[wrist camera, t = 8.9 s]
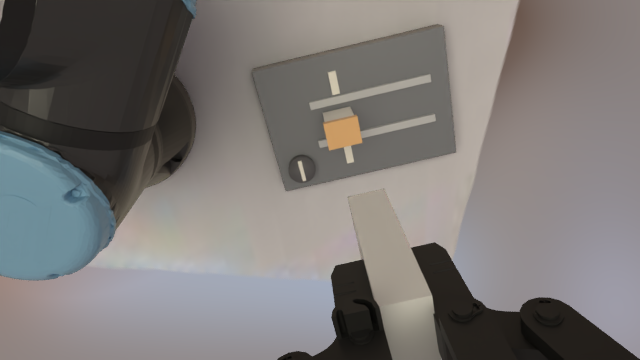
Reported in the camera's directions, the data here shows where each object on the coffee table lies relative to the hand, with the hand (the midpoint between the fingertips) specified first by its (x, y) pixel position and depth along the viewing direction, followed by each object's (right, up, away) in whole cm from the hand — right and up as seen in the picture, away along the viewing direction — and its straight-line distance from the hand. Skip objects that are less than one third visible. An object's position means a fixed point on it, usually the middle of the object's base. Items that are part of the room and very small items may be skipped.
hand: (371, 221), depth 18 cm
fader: (0, +8, +29) cm, 31 cm away
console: (+2, +10, +31) cm, 33 cm away
